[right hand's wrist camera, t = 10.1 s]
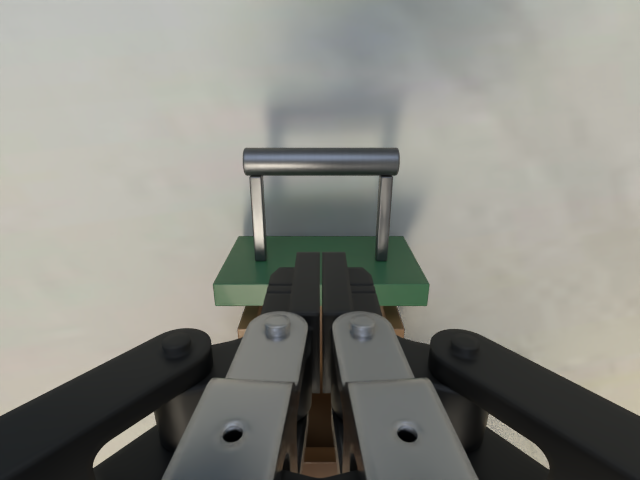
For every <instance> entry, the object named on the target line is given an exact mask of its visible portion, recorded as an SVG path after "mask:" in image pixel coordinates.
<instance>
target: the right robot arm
mask: <svg viewBox="0 0 640 480" xmlns="http://www.w3.org/2000/svg"><path fill="white" fill-rule="evenodd" d="M322 380H323V393H331V425H332V433H333V440H334V448H335V456H336V464H337V472H338V475H334V476H330V477H325V478H315V477H310V476H306V475H302V472H303V464H304V456H305V448H306V440H307V433H308V425H309V410H310V408H311V403H312V393H320V252H297V254H296V261H295V267H279V268H278V269H277V270H276V271H275V272H274V273H272V274H271V276H270V280H269V284H268V287H267V291H266V295H265V299H264V303H263V307H262V311H261V314H260V316H258V317H256V318H254V319H253V320H252V321H251V322H250V323H249V325H248V326H247V329H246V331H245V333H244V336H243V337H241V338H239V339H236V340H233V341H229V342H224V343H220V344H215V345H211V339H210V337H209V336H208V334H206V333H205V332H203V331H201V330H198V329H192V328H183V329H176V330H172V331H168V332H165V333H163V334H161V335H159V336H157V337H155V338H153V339H151V340H149V341H147V342H145V343H143V344H141V345H139V346H137V347H135V348H133V349H131V350H129V351H127V352H125V353H123V354H121V355H119V356H117V357H115V358H113V359H111V360H110V361H108V362H106V363H104V364H102V365H100V366H98V367H96V368H94V369H92V370H90V371H88V372H86V373H84V374H82V375H80V376H78V377H76V378H74V379H72V380H70V381H68V382H66V383H64V384H63V385H61V386H59V387H57V388H55V389H53V390H51V391H49V392H47V393H45V394H43V395H41V396H39V397H37V398H35V399H33V400H31V401H29V402H27V403H25V404H23V405H21V406H19V407H17V408H15V409H14V410H12V411H10V412H8V413H6V414H4V415H2V416H0V480H640V416H638V415H636V414H634V413H632V412H630V411H628V410H626V409H625V408H623V407H621V406H619V405H617V404H615V403H613V402H611V401H609V400H607V399H605V398H603V397H601V396H599V395H597V394H595V393H593V392H591V391H589V390H587V389H585V388H583V387H581V386H579V385H578V384H576V383H574V382H572V381H570V380H568V379H566V378H564V377H562V376H560V375H558V374H556V373H554V372H552V371H550V370H548V369H546V368H544V367H542V366H540V365H538V364H536V363H534V362H532V361H530V360H529V359H527V358H525V357H523V356H521V355H519V354H517V353H515V352H513V351H511V350H509V349H507V348H505V347H503V346H501V345H499V344H497V343H495V342H493V341H491V340H489V339H487V338H485V337H483V336H481V335H479V334H477V333H474V332H471V331H467V330H461V329H448V330H443V331H440V332H438V333H436V334H435V335H434V336H433V337H432V339H431V342H430V345H429V344H424V343H419V342H414V341H410V340H407V339H404V338H402V337H400V336H398V335H396V333H395V331H394V329H393V326H392V325H391V323H390V322H389V321H388V320H387V319H386V318H384V317H383V316H382V312H381V309H380V305H379V301H378V297H377V294H376V290H375V286H374V283H373V279H372V275H371V274H370V273H369V272H367V271H366V270H365V269H364V268H363V267H347V260H346V253H345V252H322ZM152 412H154V414H155V419H156V424H157V425H155V426H154V427H152V428H151V429H150V430H148V431H147V432H145V433H144V434H142V435H141V436H139V437H138V438H136V439H135V440H134V441H132V442H131V443H129V444H128V445H126V446H125V447H123V448H122V449H121V450H119V451H118V452H116V453H115V454H113V455H112V456H110V457H109V458H107V459H106V460H105V461H103V462H102V463H100V464H99V465H97V466H96V467H94V468H93V462H94V459H95V457H96V455H97V453H98V452H99V450H100V449H101V448H102V447H103V446H104V445H105V444H106V443H107V442H109V441H110V440H111V439H113V438H114V437H116V436H117V435H119V434H120V433H122V432H123V431H125V430H127V429H128V428H130V427H131V426H133V425H134V424H136V423H137V422H139V421H140V420H142V419H143V418H145V417H146V416H148V415H149V414H151V413H152ZM488 414H491V415H492V416H494V417H495V418H497V419H498V420H500V421H501V422H503V423H504V424H506V425H507V426H509V427H510V428H512V429H513V430H515V431H517V432H518V433H520V434H521V435H523V436H524V437H526V438H527V439H529V440H530V441H532V442H533V443H534V444H536V445H537V446H538V447H539V448H540V449H541V450H542V452H543V453H544V454H545V456H546V458H547V460H548V462H549V466H550V470H549V469H547V468H546V467H544V466H543V465H541V464H540V463H538V462H537V461H535V460H534V459H533V458H531V457H530V456H528V455H527V454H525V453H524V452H522V451H521V450H519V449H518V448H517V447H515V446H514V445H512V444H511V443H509V442H508V441H506V440H505V439H504V438H502V437H501V436H499V435H498V434H496V433H495V432H493V431H492V430H490V429H489V428H488V427H486V424H487V419H488Z"/></svg>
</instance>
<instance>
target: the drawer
mask: <svg viewBox="0 0 640 480" xmlns="http://www.w3.org/2000/svg"><path fill="white" fill-rule="evenodd" d="M399 164H400V155H399V150H398V148H245V149H244V152H243V169H244V173H245V175H247V176H250V193H251V208H252V223H253V236H239V237H238V239H237V240H236V242H235V244H234V246H233V248H232V250H231V252H230V254H229V255H228V257H227V259H226V261H225V263H224V265H223V267H222V268H221V270H220V272H219V274H218V276H217V278H216V280H215V281H214V283H213V289H214V298H215V305H216V306H245V309H244V312H243V315H242V318H241V321H240V323H239V326H238V339H239V338H241V337H243V336H244V333H245V331H246V329H247V326H248V325H249V323H250V322H251V321H252V320H253V319H254V318H256V317H258V316H260V314H261V311H262V307H263V303H264V299H265V295H266V291H267V287H268V284H269V280H270V276H271V274H272V273H274V272H275V271H276V270H277V269H278V268H279V267H295V261H296V254H297V252H320V393H312V403H311V408H310V410H309V425H308V433H307V440H306V447H334V440H333V433H332V425H331V393H323V380H322V252H345V253H346V260H347V267H363V268H364V269H365V270H366V271H367V272H369V273H370V274H371V275H372V279H373V283H374V286H375V290H376V294H377V297H378V301H379V305H380V309H381V312H382V316H383V317H384V318H386V319H387V320H388V321H389V322H390V323H391V325H392V326H393V329H394V331H395V333H396V335H398V336H400V337H402V338H404V330H405V329H404V326H403V323H402V321H401V318H400V315H399V312H398V309H397V306H427V301H428V293H429V283H428V281H427V279H426V277H425V275H424V273H423V272H422V270H421V268H420V266H419V264H418V263H417V261H416V259H415V257H414V255H413V253H412V252H411V250H410V248H409V246H408V244H407V242H406V241H405V239H404V237H403V236H389V227H390V212H391V198H392V183H393V177H392V176H395V175H397V174H398V171H399ZM263 176H379V190H378V208H377V226H376V236H266V222H265V203H264V185H263Z"/></svg>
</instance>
